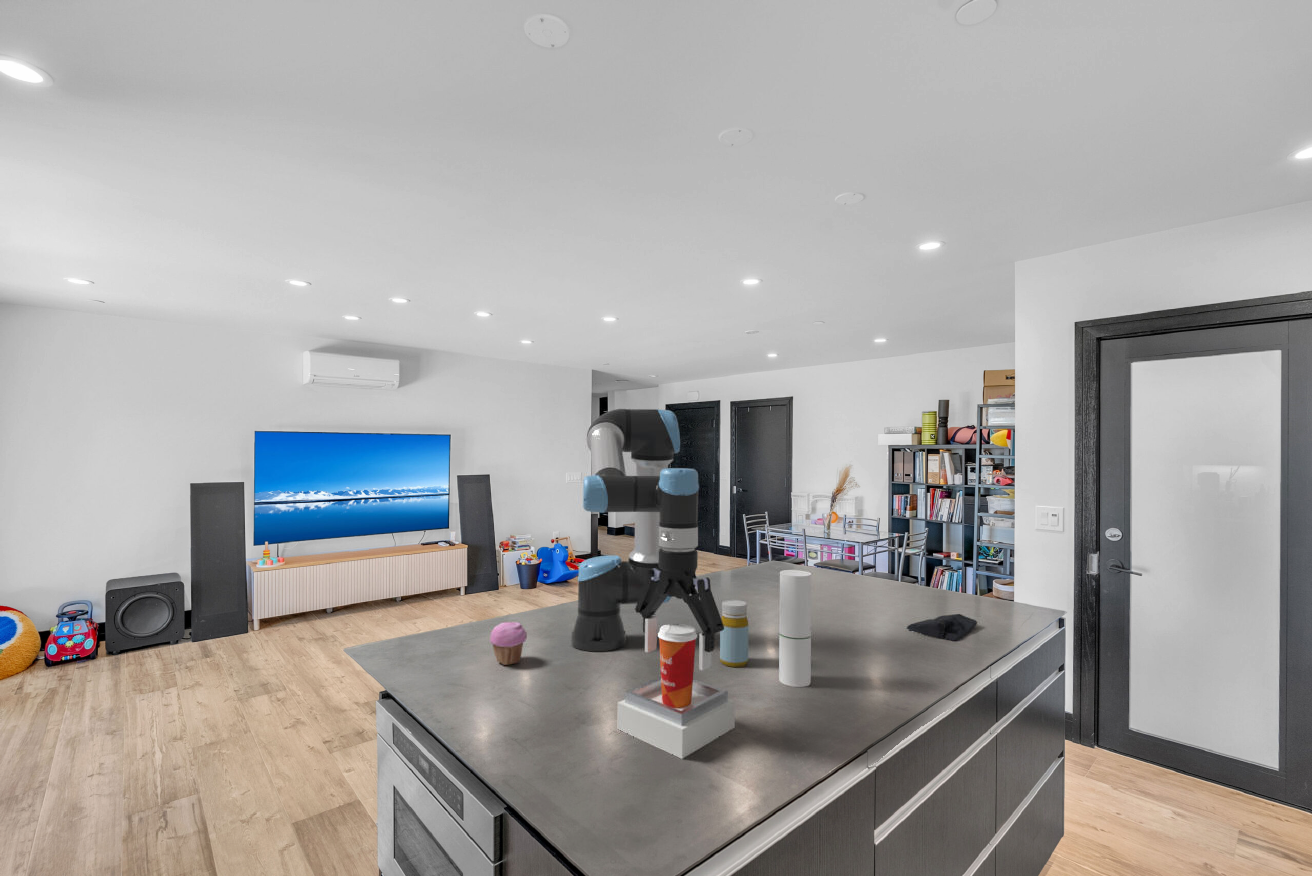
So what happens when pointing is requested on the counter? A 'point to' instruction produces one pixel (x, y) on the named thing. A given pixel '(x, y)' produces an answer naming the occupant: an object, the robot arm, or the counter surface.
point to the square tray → (676, 717)
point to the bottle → (734, 634)
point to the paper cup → (677, 664)
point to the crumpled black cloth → (944, 627)
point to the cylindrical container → (795, 628)
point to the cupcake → (508, 642)
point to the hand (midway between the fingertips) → (676, 659)
